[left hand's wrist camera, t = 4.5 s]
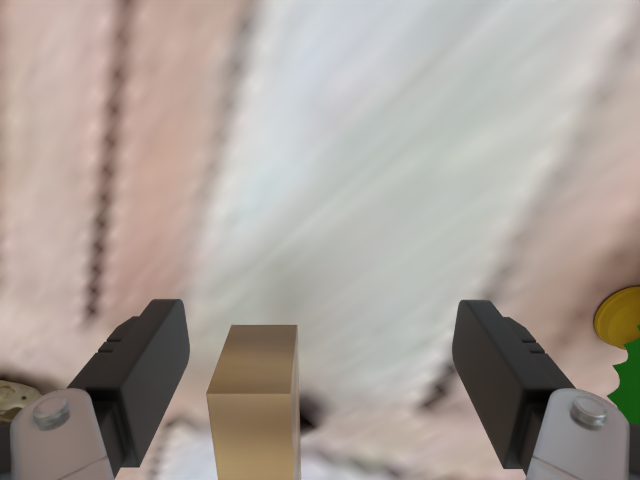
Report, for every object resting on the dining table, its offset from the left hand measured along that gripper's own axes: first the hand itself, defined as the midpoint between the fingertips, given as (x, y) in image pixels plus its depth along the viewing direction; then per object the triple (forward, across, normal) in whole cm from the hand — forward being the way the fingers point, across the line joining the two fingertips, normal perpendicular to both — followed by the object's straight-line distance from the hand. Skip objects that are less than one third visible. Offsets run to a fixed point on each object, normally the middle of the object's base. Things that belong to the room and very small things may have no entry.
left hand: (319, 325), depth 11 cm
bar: (+19, +5, +26) cm, 33 cm away
